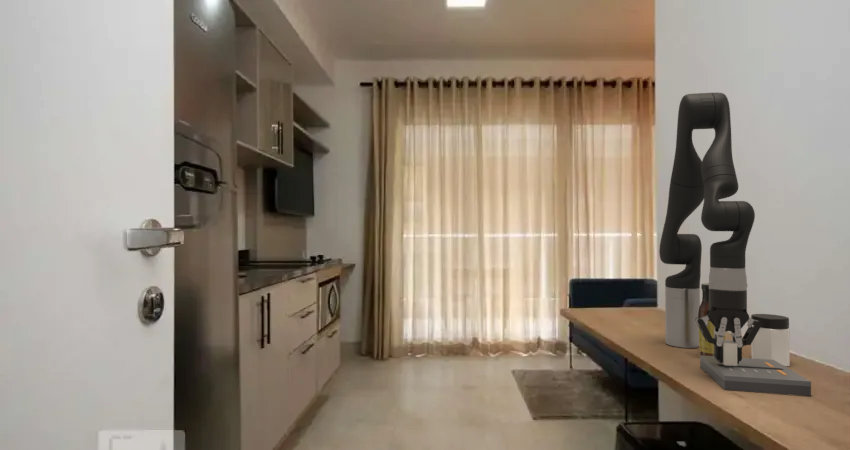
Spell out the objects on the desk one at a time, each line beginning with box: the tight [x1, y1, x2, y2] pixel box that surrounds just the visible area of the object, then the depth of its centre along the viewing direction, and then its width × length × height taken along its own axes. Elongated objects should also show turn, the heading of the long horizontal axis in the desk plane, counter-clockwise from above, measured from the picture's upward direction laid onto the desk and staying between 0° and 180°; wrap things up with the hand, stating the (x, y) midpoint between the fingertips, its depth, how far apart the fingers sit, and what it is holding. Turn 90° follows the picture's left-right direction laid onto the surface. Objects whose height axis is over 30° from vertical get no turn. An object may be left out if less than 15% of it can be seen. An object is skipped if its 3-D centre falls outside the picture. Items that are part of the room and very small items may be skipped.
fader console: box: [699, 354, 812, 397], centre depth 113 cm, size 18×16×3 cm
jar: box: [750, 313, 791, 368], centre depth 129 cm, size 9×8×12 cm
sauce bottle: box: [698, 282, 726, 356], centre depth 134 cm, size 6×6×20 cm
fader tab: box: [722, 339, 737, 367], centre depth 115 cm, size 4×3×6 cm, turn 166°
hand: (727, 361), depth 115 cm, fingers closed on fader tab, 2 cm apart
